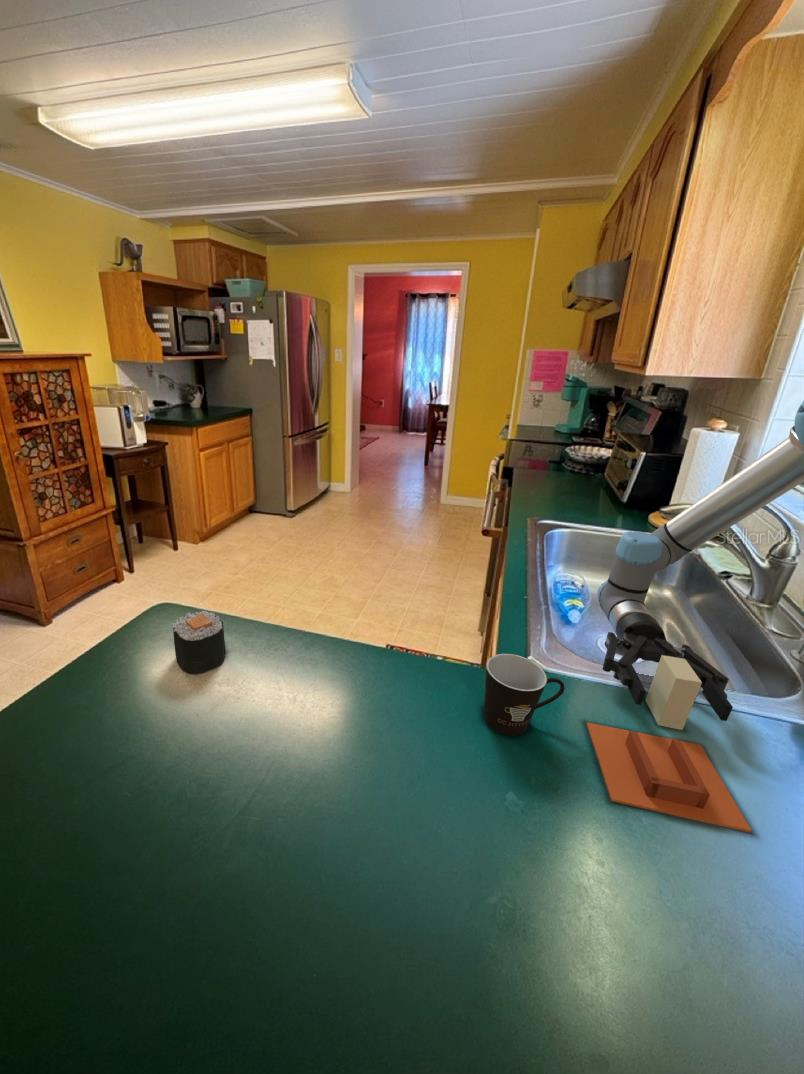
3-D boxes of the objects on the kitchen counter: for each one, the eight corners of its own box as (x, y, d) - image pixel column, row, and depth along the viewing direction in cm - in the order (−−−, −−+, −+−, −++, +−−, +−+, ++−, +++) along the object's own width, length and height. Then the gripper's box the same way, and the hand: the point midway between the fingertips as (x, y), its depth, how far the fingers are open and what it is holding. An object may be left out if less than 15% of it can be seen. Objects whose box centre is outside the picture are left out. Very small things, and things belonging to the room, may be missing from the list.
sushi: (210, 639, 89) (207, 603, 86) (232, 661, 84) (231, 623, 81) (168, 656, 84) (164, 617, 81) (189, 680, 79) (185, 639, 76)
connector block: (666, 708, 79) (685, 658, 75) (680, 734, 74) (702, 682, 70) (643, 703, 80) (661, 654, 76) (656, 729, 74) (676, 678, 71)
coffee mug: (471, 733, 71) (482, 679, 68) (480, 698, 79) (490, 648, 75) (553, 760, 67) (569, 705, 64) (554, 720, 75) (568, 669, 71)
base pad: (698, 750, 71) (706, 731, 69) (748, 837, 58) (760, 816, 57) (585, 728, 74) (590, 709, 72) (609, 806, 61) (617, 785, 60)
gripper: (697, 656, 90) (762, 741, 70) (567, 634, 94) (593, 709, 75) (710, 622, 87) (781, 701, 67) (576, 601, 92) (606, 670, 72)
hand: (683, 705), depth 71 cm, fingers open, 11 cm apart
